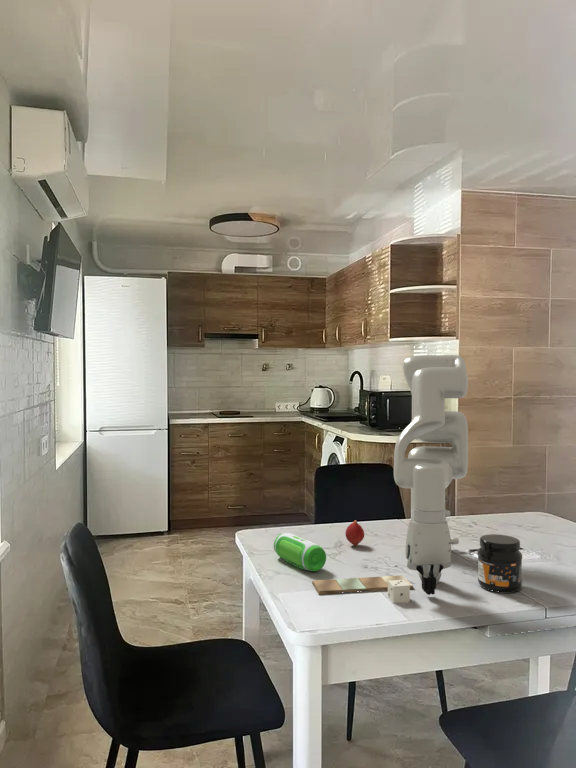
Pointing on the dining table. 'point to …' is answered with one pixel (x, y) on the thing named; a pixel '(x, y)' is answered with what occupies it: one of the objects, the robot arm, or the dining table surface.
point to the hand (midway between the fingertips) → (428, 592)
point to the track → (355, 584)
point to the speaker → (300, 552)
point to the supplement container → (500, 563)
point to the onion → (354, 533)
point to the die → (398, 591)
